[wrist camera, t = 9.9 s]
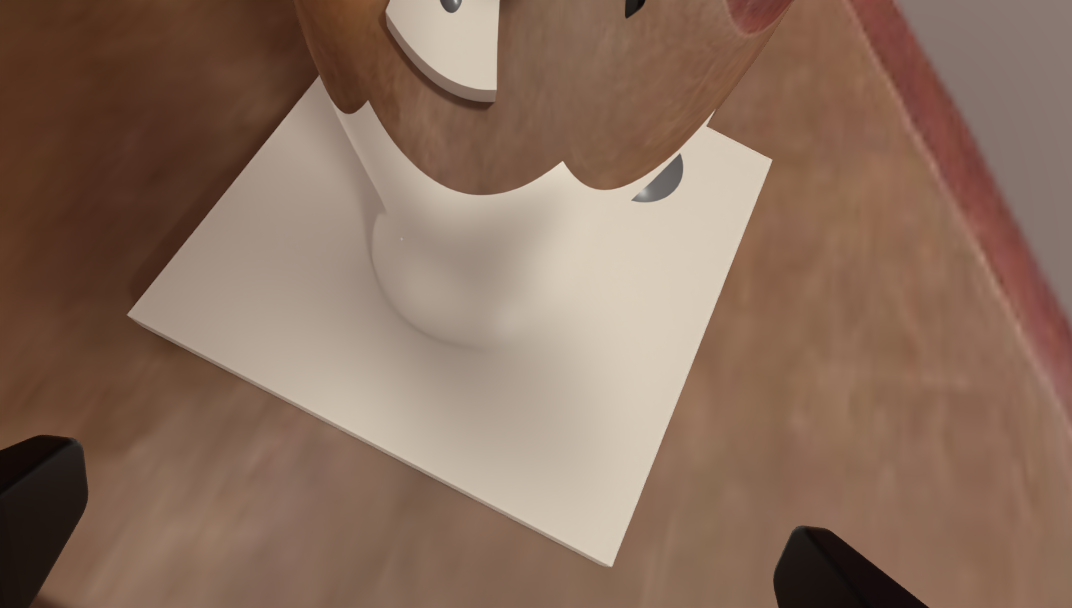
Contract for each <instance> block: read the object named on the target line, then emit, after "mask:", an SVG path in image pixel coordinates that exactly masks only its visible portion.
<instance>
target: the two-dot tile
mask: <svg viewBox="0 0 1072 608" xmlns="http://www.w3.org/2000/svg"><path fill="white" fill-rule="evenodd" d="M771 162H772V160H771V159H769V158H767V157H765V156H763V155H761V154H759V153H757V152H756V151H754V150H752V149H750V148H748V147H746V146H744V145H742V144H740V143H738V142H736V141H734V140H732V139H730V138H728V137H726V136H724V135H722V134H720V133H718V132H716V131H714V130H712V129H710V128H708V127H706V126H705V127H704V128H703V129H702V130H701V131H700V132H699V133H698V134H697V136H696V137H695V138H694V139H693V140H692V141H691V142H690V143H689V144H688V145H687V146H686V147H685V148H684V149H683V150H682V151H681V152H680V153H679V154H678V156H677V157H676V158H675V159H674V160H673V161H672V162H671V163H670V164H669V165H668V166H667V167H666V168H665V169H664V170H663V171H662V172H661V173H660V174H659V175H658V176H657V177H656V178H655V179H654V180H653V181H652V182H651V183H650V184H648V185H647V186H646V187H645V188H644V189H643V190H642V191H641V192H640V193H638V194H637V195H636V196H635V197H634V198H633V199H632V200H631V201H630V202H628V203H627V204H626V205H625V206H624V207H623V208H622V209H621V210H619V211H618V212H617V213H616V214H615V215H614V216H613V217H611V218H610V219H609V220H608V221H607V222H606V223H604V224H603V225H602V226H601V227H600V228H599V229H598V230H597V231H596V232H595V233H594V234H592V235H591V236H590V237H589V238H588V240H587V243H586V251H585V258H584V265H583V269H582V273H581V277H580V280H579V283H578V286H577V288H576V290H575V292H574V294H573V296H572V298H571V300H570V301H569V303H568V305H567V306H566V307H565V309H564V310H563V311H562V312H561V314H560V315H559V316H558V317H557V318H556V319H555V320H554V321H553V322H551V323H550V324H549V325H548V326H546V327H545V328H544V329H542V330H541V331H539V332H538V333H536V334H534V335H532V336H530V337H528V338H526V339H524V340H521V341H518V342H515V343H512V344H508V345H504V346H499V347H490V348H472V347H464V346H458V345H454V344H450V343H447V342H444V341H441V340H439V339H436V338H434V337H432V336H430V335H428V334H426V333H424V332H422V331H421V330H419V329H418V328H416V327H415V326H413V325H412V324H411V323H409V322H408V321H407V320H406V319H405V318H404V317H403V316H402V315H400V314H399V312H398V311H397V310H396V309H395V308H394V307H393V306H392V304H391V303H390V302H389V300H388V299H387V297H386V295H385V294H384V292H383V290H382V288H381V286H380V284H379V282H378V279H377V277H376V274H375V270H374V266H373V261H372V254H371V234H372V227H373V221H374V216H375V212H376V209H377V205H378V201H379V196H378V194H377V192H376V190H375V188H374V185H373V183H372V181H371V180H370V178H369V176H368V174H367V172H366V170H365V168H364V167H363V165H362V163H361V161H360V159H359V157H358V155H357V153H356V152H355V150H354V148H353V146H352V144H351V142H350V140H349V138H348V136H347V134H346V132H345V130H344V128H343V126H342V124H341V122H340V120H339V118H338V116H337V114H336V112H335V110H334V108H333V106H332V104H331V102H330V99H329V97H328V94H327V92H326V90H325V87H324V85H323V82H322V80H321V78H320V75H319V76H318V78H317V79H316V80H315V81H314V83H313V84H312V85H311V86H310V88H309V89H308V90H307V91H306V93H305V94H304V95H303V96H302V98H301V99H300V100H299V101H298V102H297V104H296V105H295V106H294V107H293V109H292V110H291V111H290V112H289V114H288V115H287V116H286V117H285V119H284V120H283V121H282V122H281V124H280V125H279V126H278V127H277V129H276V130H275V131H274V132H273V134H272V135H271V136H270V137H269V139H268V140H267V141H266V142H265V144H264V145H263V146H262V147H261V149H260V150H259V151H258V152H257V154H256V155H255V156H254V157H253V159H252V160H251V161H250V162H249V163H248V165H247V166H246V167H245V168H244V170H243V171H242V172H241V173H240V175H239V176H238V177H237V178H236V180H235V181H234V182H233V183H232V185H231V186H230V187H229V188H228V190H227V191H226V192H225V193H224V195H223V196H222V197H221V198H220V200H219V201H218V202H217V203H216V205H215V206H214V207H213V208H212V210H211V211H210V212H209V213H208V215H207V216H206V217H205V218H204V220H203V221H202V222H201V223H200V224H199V226H198V227H197V228H196V229H195V231H194V232H193V233H192V234H191V236H190V237H189V238H188V239H187V241H186V242H185V243H184V244H183V246H182V247H181V248H180V249H179V251H178V252H177V253H176V254H175V256H174V257H173V258H172V259H171V261H170V262H169V263H168V264H167V266H166V267H165V268H164V269H163V271H162V272H161V273H160V274H159V276H158V277H157V278H156V279H155V281H154V282H153V283H152V284H151V286H150V287H149V288H148V289H147V290H146V292H145V293H144V294H143V295H142V297H141V298H140V299H139V300H138V302H137V303H136V304H135V305H134V307H133V308H132V309H131V310H130V312H129V313H128V314H127V316H129V317H130V318H131V319H133V320H134V321H135V322H137V323H138V324H139V325H141V326H142V327H144V328H146V329H148V330H149V331H151V332H153V333H155V334H157V335H159V336H161V337H163V338H165V339H167V340H169V341H171V342H173V343H174V344H176V345H178V346H180V347H182V348H184V349H186V350H188V351H190V352H192V353H194V354H196V355H198V356H200V357H201V358H203V359H205V360H207V361H209V362H211V363H213V364H215V365H217V366H219V367H221V368H223V369H225V370H226V371H228V372H230V373H232V374H234V375H236V376H238V377H240V378H242V379H244V380H246V381H248V382H250V383H251V384H253V385H255V386H257V387H259V388H261V389H263V390H265V391H267V392H269V393H271V394H273V395H275V396H276V397H278V398H280V399H282V400H284V401H286V402H288V403H290V404H292V405H294V406H296V407H298V408H300V409H301V410H303V411H305V412H307V413H309V414H311V415H313V416H315V417H317V418H319V419H321V420H323V421H325V422H326V423H328V424H330V425H332V426H334V427H336V428H338V429H340V430H342V431H344V432H346V433H348V434H350V435H351V436H353V437H355V438H357V439H359V440H361V441H363V442H365V443H367V444H369V445H371V446H373V447H375V448H376V449H378V450H380V451H382V452H384V453H386V454H388V455H390V456H392V457H394V458H396V459H398V460H400V461H401V462H403V463H405V464H407V465H409V466H411V467H413V468H415V469H417V470H419V471H421V472H423V473H425V474H427V475H428V476H430V477H432V478H434V479H436V480H438V481H440V482H442V483H444V484H446V485H448V486H450V487H452V488H453V489H455V490H457V491H459V492H461V493H463V494H465V495H467V496H469V497H471V498H473V499H475V500H477V501H478V502H480V503H482V504H484V505H486V506H488V507H490V508H492V509H494V510H496V511H498V512H500V513H502V514H503V515H505V516H507V517H509V518H511V519H513V520H515V521H517V522H519V523H521V524H523V525H525V526H527V527H528V528H530V529H532V530H534V531H536V532H538V533H540V534H542V535H544V536H546V537H548V538H550V539H552V540H553V541H555V542H557V543H559V544H561V545H563V546H565V547H567V548H569V549H571V550H573V551H575V552H577V553H578V554H580V555H582V556H584V557H586V558H588V559H590V560H592V561H594V562H596V563H598V564H600V565H602V566H608V567H612V565H613V562H614V560H615V557H616V555H617V552H618V550H619V547H620V545H621V542H622V540H623V537H624V535H625V532H626V529H627V527H628V524H629V522H630V519H631V517H632V514H633V512H634V509H635V507H636V504H637V502H638V499H639V497H640V494H641V491H642V489H643V486H644V484H645V481H646V479H647V476H648V474H649V471H650V469H651V466H652V464H653V461H654V459H655V456H656V453H657V451H658V448H659V446H660V443H661V441H662V438H663V436H664V433H665V431H666V428H667V426H668V423H669V421H670V418H671V416H672V413H673V410H674V408H675V405H676V403H677V400H678V398H679V395H680V393H681V390H682V388H683V385H684V383H685V380H686V378H687V375H688V372H689V370H690V367H691V365H692V362H693V360H694V357H695V355H696V352H697V350H698V347H699V345H700V342H701V340H702V337H703V334H704V332H705V329H706V327H707V324H708V322H709V319H710V317H711V314H712V312H713V309H714V307H715V304H716V302H717V299H718V296H719V294H720V291H721V289H722V286H723V284H724V281H725V279H726V276H727V274H728V271H729V269H730V266H731V264H732V261H733V259H734V256H735V253H736V251H737V248H738V246H739V243H740V241H741V238H742V236H743V233H744V231H745V228H746V226H747V223H748V221H749V218H750V215H751V213H752V210H753V208H754V205H755V203H756V200H757V198H758V195H759V193H760V190H761V188H762V185H763V183H764V180H765V177H766V175H767V172H768V170H769V167H770V165H771Z"/></svg>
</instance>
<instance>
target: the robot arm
mask: <svg viewBox="0 0 1072 608" xmlns="http://www.w3.org/2000/svg"><path fill="white" fill-rule="evenodd" d="M87 501H88V485H87V476H86V468H85V460H84V451H83V447H82V445H81V443H80V442H79V441H78V440H76V439H74V438H68V437H60V436H52V435H38V436H35V437H32V438H29V439H27V440H25V441H22V442H20V443H17V444H15V445H12V446H10V447H8V448H5V449H3V450H0V608H30V606H31V605H32V603H33V601H34V599H35V597H36V596H37V594H38V592H39V590H40V589H41V587H42V585H43V583H44V582H45V580H46V578H47V576H48V575H49V573H50V571H51V569H52V568H53V566H54V564H55V562H56V561H57V559H58V557H59V555H60V553H61V552H62V550H63V548H64V546H65V545H66V543H67V541H68V539H69V538H70V536H71V534H72V532H73V531H74V529H75V527H76V525H77V524H78V522H79V520H80V518H81V517H82V515H83V513H84V510H85V508H86V505H87ZM773 583H774V591H775V595H776V599H777V603H778V607H779V608H929V607H928V606H926V605H925V604H924V603H922V602H921V601H920V600H919V599H917V598H916V597H915V596H913V595H912V594H911V593H910V592H908V591H907V590H906V589H905V588H903V587H902V586H901V585H899V584H898V583H897V582H896V581H894V580H893V579H892V578H890V577H889V576H888V575H887V574H885V573H884V572H883V571H882V570H880V569H879V568H878V567H876V566H875V565H874V564H873V563H871V562H870V561H869V560H867V559H866V558H865V557H864V556H862V555H861V554H860V553H859V552H857V551H856V550H855V549H853V548H852V547H851V546H850V545H848V544H847V543H846V542H844V541H843V540H842V539H841V538H839V537H838V536H837V535H836V534H834V533H833V532H832V531H830V530H828V529H825V528H819V527H811V526H798V527H796V528H795V529H794V530H793V531H792V533H791V535H790V537H789V539H788V541H787V543H786V546H785V548H784V550H783V552H782V554H781V557H780V559H779V561H778V563H777V565H776V568H775V571H774V578H773Z"/></svg>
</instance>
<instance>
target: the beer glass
mask: <svg viewBox="0 0 1072 608" xmlns="http://www.w3.org/2000/svg"><path fill="white" fill-rule="evenodd" d="M292 1H293V4H294V8H295V11H296V15H297V18H298V22H299V25H300V29H301V31H302V34H303V37H304V39H305V42H306V44H307V47H308V49H309V51H310V54H311V56H312V58H313V61H314V63H315V66H316V68H317V70H318V73H319V75H320V78H321V80H322V82H323V85H324V87H325V90H326V92H327V94H328V97H329V99H330V102H331V104H332V106H333V108H334V110H335V112H336V114H337V116H338V118H339V120H340V122H341V124H342V126H343V128H344V130H345V132H346V134H347V136H348V138H349V140H350V142H351V144H352V146H353V148H354V150H355V152H356V153H357V155H358V157H359V159H360V161H361V163H362V165H363V167H364V168H365V170H366V172H367V174H368V176H369V178H370V180H371V181H372V183H373V185H374V188H375V190H376V192H377V194H378V196H379V201H378V205H377V209H376V212H375V216H374V221H373V227H372V234H371V254H372V261H373V266H374V270H375V274H376V277H377V279H378V282H379V284H380V286H381V288H382V290H383V292H384V294H385V295H386V297H387V299H388V300H389V302H390V303H391V304H392V306H393V307H394V308H395V309H396V310H397V311H398V312H399V314H400V315H402V316H403V317H404V318H405V319H406V320H407V321H408V322H409V323H411V324H412V325H413V326H415V327H416V328H418V329H419V330H421V331H422V332H424V333H426V334H428V335H430V336H432V337H434V338H436V339H439V340H441V341H444V342H447V343H450V344H454V345H458V346H464V347H472V348H490V347H499V346H504V345H508V344H512V343H515V342H518V341H521V340H524V339H526V338H528V337H530V336H532V335H534V334H536V333H538V332H539V331H541V330H542V329H544V328H545V327H546V326H548V325H549V324H550V323H551V322H553V321H554V320H555V319H556V318H557V317H558V316H559V315H560V314H561V312H562V311H563V310H564V309H565V307H566V306H567V305H568V303H569V301H570V300H571V298H572V296H573V294H574V292H575V290H576V288H577V286H578V283H579V280H580V277H581V273H582V269H583V265H584V258H585V251H586V243H587V240H588V238H589V237H590V236H591V235H592V234H594V233H595V232H596V231H597V230H598V229H599V228H600V227H601V226H602V225H603V224H604V223H606V222H607V221H608V220H609V219H610V218H611V217H613V216H614V215H615V214H616V213H617V212H618V211H619V210H621V209H622V208H623V207H624V206H625V205H626V204H627V203H628V202H630V201H631V200H632V199H633V198H634V197H635V196H636V195H637V194H638V193H640V192H641V191H642V190H643V189H644V188H645V187H646V186H647V185H648V184H650V183H651V182H652V181H653V180H654V179H655V178H656V177H657V176H658V175H659V174H660V173H661V172H662V171H663V170H664V169H665V168H666V167H667V166H668V165H669V164H670V163H671V162H672V161H673V160H674V159H675V158H676V157H677V156H678V154H679V153H680V152H681V151H682V150H683V149H684V148H685V147H686V146H687V145H688V144H689V143H690V142H691V141H692V140H693V139H694V138H695V137H696V136H697V134H698V133H699V132H700V131H701V130H702V129H703V128H704V127H705V126H706V125H707V123H708V122H709V121H710V120H711V119H712V117H713V116H714V115H715V113H716V112H717V111H718V109H719V108H720V107H721V105H722V104H723V103H724V101H725V100H726V99H727V97H728V96H729V95H730V93H731V92H732V91H733V89H734V88H735V87H736V85H737V84H738V83H739V81H740V80H741V79H742V77H743V76H744V75H745V73H746V72H747V71H748V69H749V68H750V67H751V65H752V64H753V63H754V61H755V60H756V59H757V57H758V56H759V54H760V53H761V52H762V50H763V49H764V47H765V45H766V44H767V42H768V41H769V39H770V38H771V36H772V34H773V33H774V31H775V30H776V28H777V27H778V25H779V24H780V22H781V20H782V19H783V17H784V16H785V14H786V13H787V11H788V9H789V8H790V6H791V5H792V3H793V2H794V0H292Z"/></svg>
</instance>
